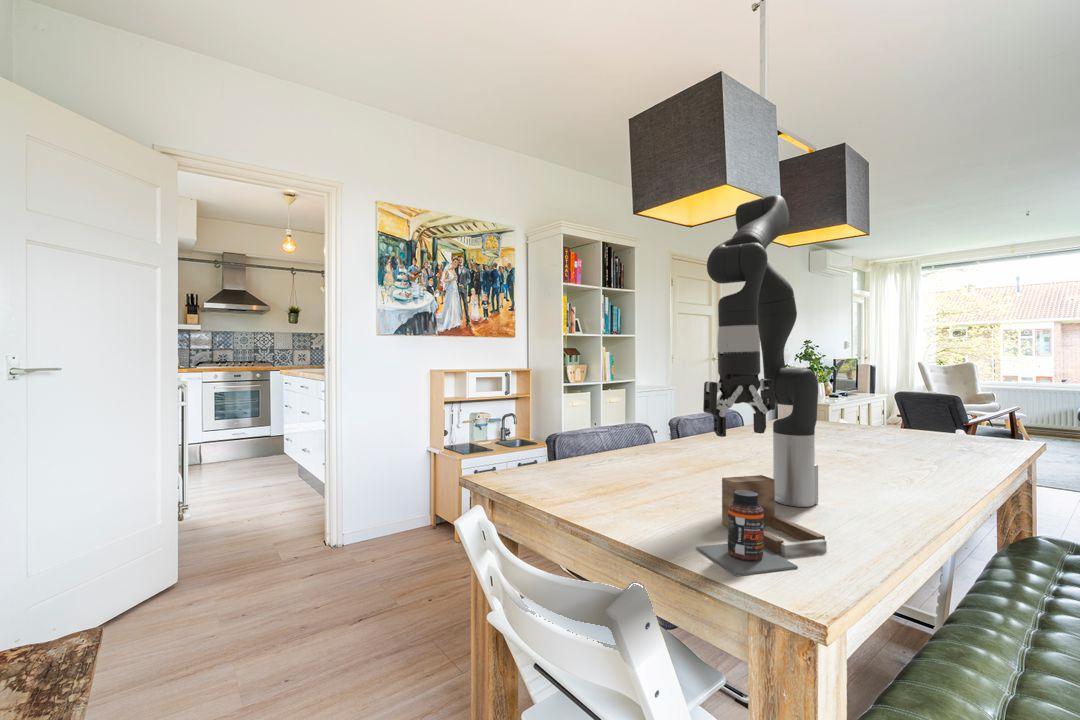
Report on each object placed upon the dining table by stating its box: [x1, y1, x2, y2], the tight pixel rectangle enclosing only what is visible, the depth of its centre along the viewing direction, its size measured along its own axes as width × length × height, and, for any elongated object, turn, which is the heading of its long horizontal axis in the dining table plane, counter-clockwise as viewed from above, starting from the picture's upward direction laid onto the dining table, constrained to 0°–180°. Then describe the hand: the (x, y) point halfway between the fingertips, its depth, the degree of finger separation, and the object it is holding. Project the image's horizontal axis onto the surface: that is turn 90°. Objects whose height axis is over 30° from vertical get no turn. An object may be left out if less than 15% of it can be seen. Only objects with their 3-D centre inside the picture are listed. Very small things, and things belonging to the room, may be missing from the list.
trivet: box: [695, 542, 799, 577], centre depth 88 cm, size 12×12×1 cm
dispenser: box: [721, 474, 827, 558], centre depth 99 cm, size 11×18×10 cm, turn 14°
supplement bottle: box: [727, 490, 765, 561], centre depth 88 cm, size 6×6×11 cm
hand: (740, 434), depth 94 cm, fingers open, 8 cm apart
